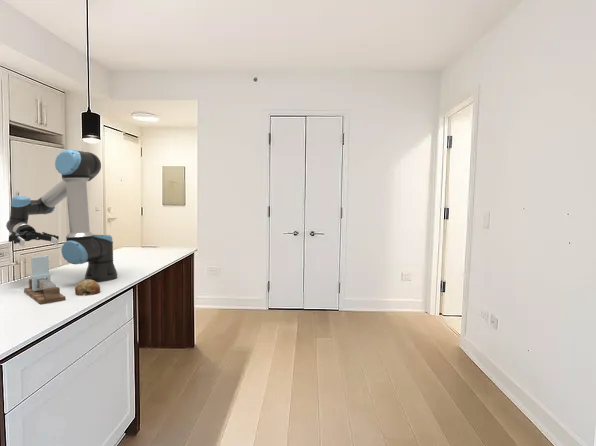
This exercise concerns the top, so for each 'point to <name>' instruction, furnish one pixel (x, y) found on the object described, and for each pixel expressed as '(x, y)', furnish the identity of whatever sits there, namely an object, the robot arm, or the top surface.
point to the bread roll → (87, 287)
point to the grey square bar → (45, 283)
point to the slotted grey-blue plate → (39, 270)
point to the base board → (44, 294)
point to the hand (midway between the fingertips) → (41, 243)
